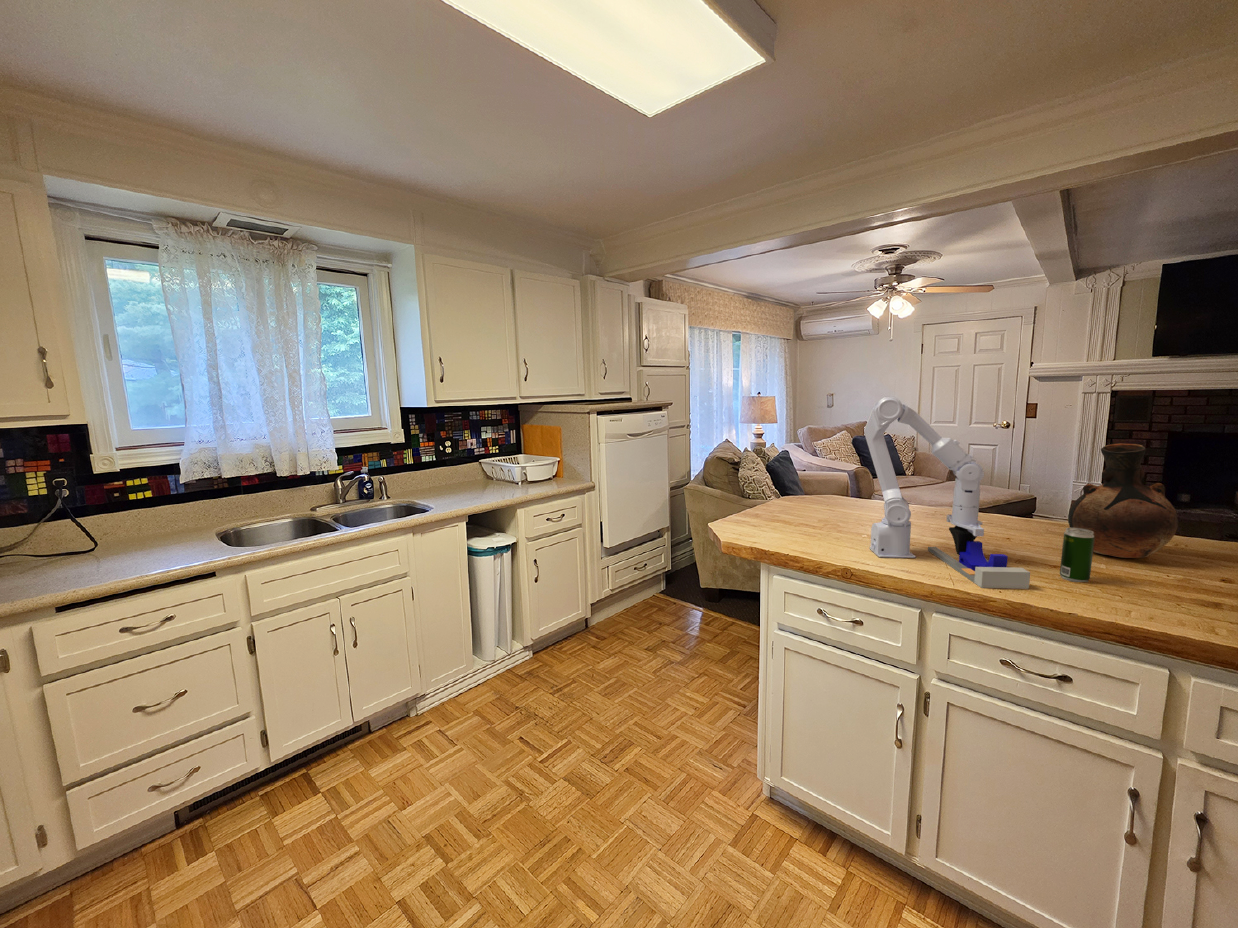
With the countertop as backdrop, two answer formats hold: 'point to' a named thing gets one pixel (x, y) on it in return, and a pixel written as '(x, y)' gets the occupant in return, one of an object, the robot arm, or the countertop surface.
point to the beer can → (1077, 554)
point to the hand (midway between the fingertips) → (962, 554)
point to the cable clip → (980, 557)
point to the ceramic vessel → (1125, 507)
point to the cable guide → (988, 573)
